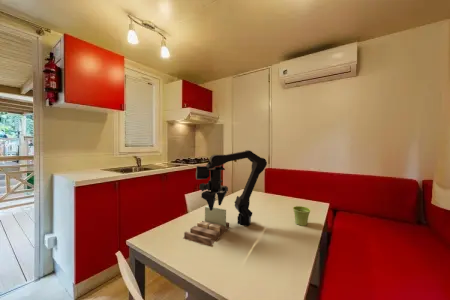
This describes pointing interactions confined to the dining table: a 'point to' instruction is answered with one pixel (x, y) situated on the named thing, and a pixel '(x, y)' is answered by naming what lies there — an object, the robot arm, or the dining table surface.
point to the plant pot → (301, 215)
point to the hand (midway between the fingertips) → (215, 207)
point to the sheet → (215, 216)
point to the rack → (205, 234)
